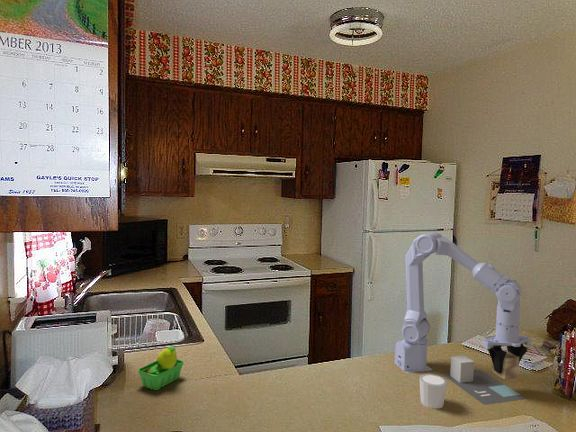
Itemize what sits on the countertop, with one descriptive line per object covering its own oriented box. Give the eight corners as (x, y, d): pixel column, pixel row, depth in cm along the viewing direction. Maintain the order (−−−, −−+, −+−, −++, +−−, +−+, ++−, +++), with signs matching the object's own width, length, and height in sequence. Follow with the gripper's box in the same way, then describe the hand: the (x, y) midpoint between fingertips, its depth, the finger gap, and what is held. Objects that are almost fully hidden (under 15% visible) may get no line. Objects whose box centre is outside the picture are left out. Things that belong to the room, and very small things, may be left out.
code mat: (484, 406, 104) (484, 404, 104) (441, 375, 122) (441, 373, 122) (527, 400, 108) (527, 398, 108) (479, 371, 125) (479, 369, 125)
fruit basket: (166, 371, 121) (166, 335, 121) (188, 378, 117) (188, 341, 117) (136, 387, 111) (136, 348, 111) (159, 395, 107) (158, 355, 106)
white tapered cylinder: (445, 400, 107) (446, 375, 106) (446, 414, 100) (447, 387, 100) (418, 396, 109) (419, 371, 109) (418, 409, 103) (419, 383, 102)
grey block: (460, 382, 116) (461, 363, 116) (450, 375, 120) (451, 356, 120) (473, 381, 117) (473, 361, 117) (462, 374, 121) (463, 355, 121)
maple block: (504, 379, 109) (505, 358, 108) (492, 372, 113) (493, 352, 113) (518, 378, 110) (519, 357, 109) (505, 371, 114) (506, 350, 114)
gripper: (496, 330, 105) (494, 380, 106) (540, 326, 108) (538, 374, 109) (477, 321, 112) (475, 368, 112) (519, 318, 115) (517, 363, 116)
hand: (505, 370), depth 111 cm, fingers closed on maple block, 4 cm apart
